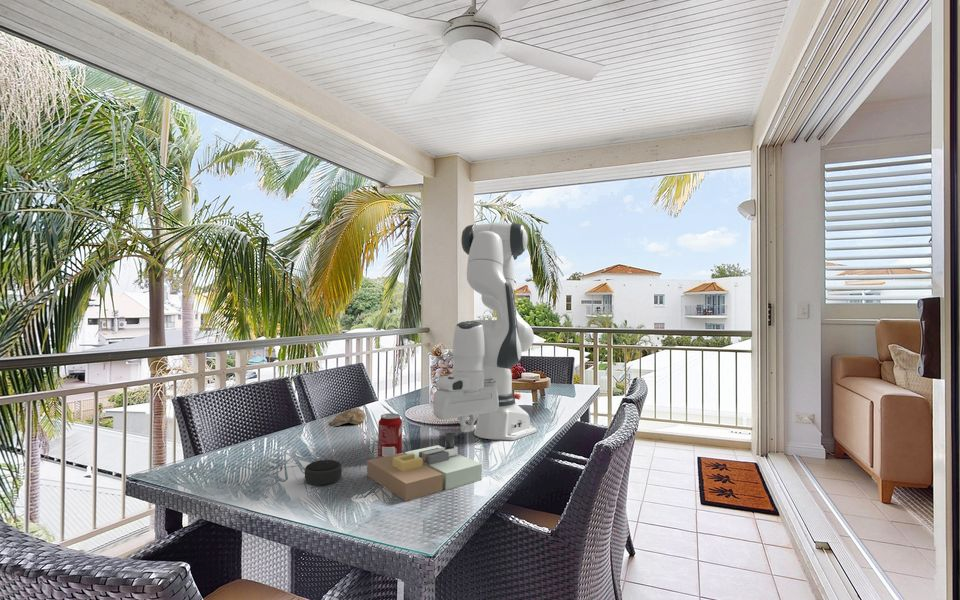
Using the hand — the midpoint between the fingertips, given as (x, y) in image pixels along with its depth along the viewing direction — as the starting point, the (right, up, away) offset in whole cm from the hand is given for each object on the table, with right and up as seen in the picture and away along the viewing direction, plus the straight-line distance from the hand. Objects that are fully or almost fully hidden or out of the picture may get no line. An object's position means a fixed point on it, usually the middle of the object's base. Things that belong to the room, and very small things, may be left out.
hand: (467, 431), depth 133 cm
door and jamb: (-12, -10, -9) cm, 18 cm away
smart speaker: (-36, -10, -10) cm, 39 cm away
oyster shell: (-45, -10, +45) cm, 65 cm away
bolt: (-7, -5, -5) cm, 10 cm away
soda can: (-23, -10, +8) cm, 26 cm away
